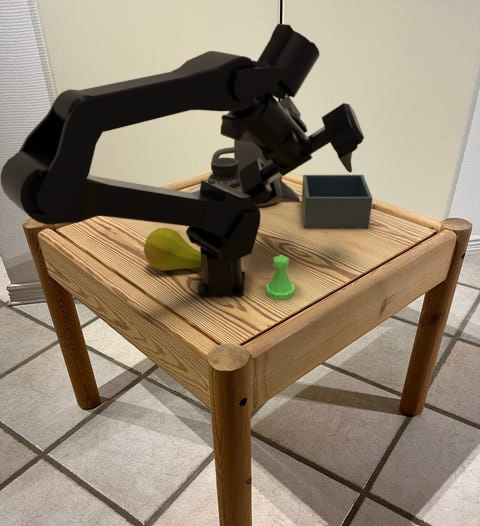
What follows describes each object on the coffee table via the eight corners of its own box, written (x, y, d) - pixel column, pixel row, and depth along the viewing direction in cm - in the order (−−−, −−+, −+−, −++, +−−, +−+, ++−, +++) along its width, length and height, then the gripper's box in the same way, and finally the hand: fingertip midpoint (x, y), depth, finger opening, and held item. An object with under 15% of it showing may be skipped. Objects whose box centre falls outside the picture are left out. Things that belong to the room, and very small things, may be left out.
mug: (273, 187, 106) (274, 127, 99) (287, 203, 99) (290, 140, 92) (208, 194, 103) (205, 133, 96) (219, 212, 96) (215, 148, 89)
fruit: (142, 259, 82) (214, 284, 83) (136, 264, 76) (213, 290, 77) (155, 220, 80) (227, 246, 82) (149, 222, 74) (227, 250, 76)
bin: (368, 228, 90) (372, 198, 86) (304, 228, 90) (305, 198, 87) (359, 202, 99) (363, 174, 96) (301, 202, 99) (303, 174, 96)
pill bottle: (237, 230, 90) (235, 169, 84) (205, 226, 92) (200, 165, 85) (248, 216, 95) (247, 157, 88) (217, 213, 96) (214, 154, 90)
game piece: (290, 302, 71) (292, 264, 68) (261, 296, 73) (261, 259, 69) (298, 286, 75) (300, 250, 71) (270, 281, 76) (271, 245, 72)
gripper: (317, 44, 67) (364, 114, 79) (207, 124, 76) (265, 177, 88) (338, 102, 62) (385, 168, 74) (218, 181, 71) (277, 229, 83)
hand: (323, 185), depth 80 cm, fingers open, 9 cm apart
